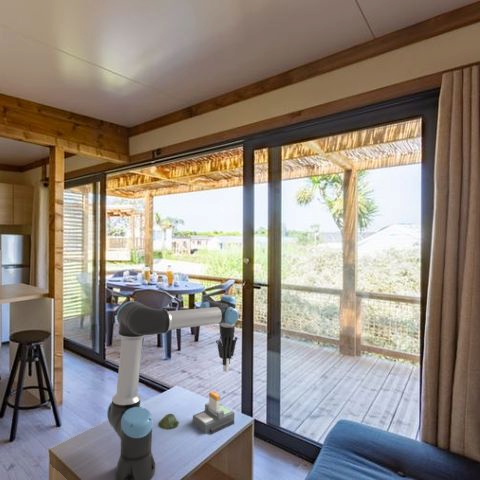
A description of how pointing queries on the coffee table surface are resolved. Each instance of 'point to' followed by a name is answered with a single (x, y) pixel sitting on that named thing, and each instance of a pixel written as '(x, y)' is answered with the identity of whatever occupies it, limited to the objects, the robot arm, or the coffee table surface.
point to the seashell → (168, 422)
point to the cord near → (221, 426)
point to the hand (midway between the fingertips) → (225, 370)
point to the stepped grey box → (212, 418)
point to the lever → (214, 402)
